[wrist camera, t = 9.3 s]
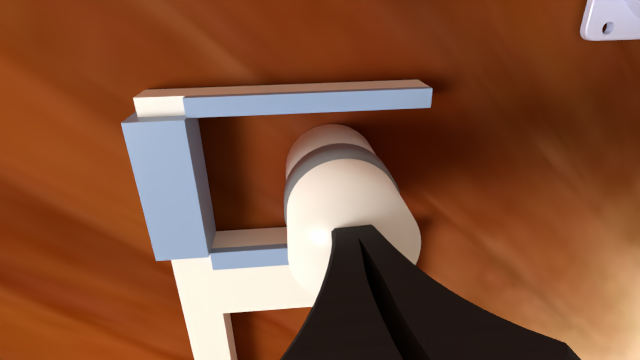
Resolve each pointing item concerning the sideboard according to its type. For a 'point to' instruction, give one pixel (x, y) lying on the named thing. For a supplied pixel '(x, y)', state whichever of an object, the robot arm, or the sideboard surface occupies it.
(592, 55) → the sideboard surface
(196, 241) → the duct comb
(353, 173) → the banded white cylinder
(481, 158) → the sideboard surface
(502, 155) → the sideboard surface
